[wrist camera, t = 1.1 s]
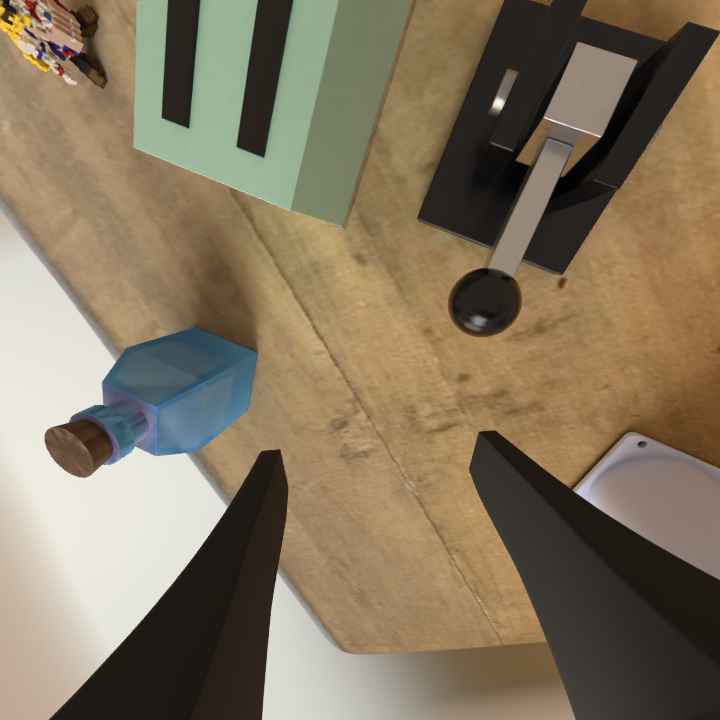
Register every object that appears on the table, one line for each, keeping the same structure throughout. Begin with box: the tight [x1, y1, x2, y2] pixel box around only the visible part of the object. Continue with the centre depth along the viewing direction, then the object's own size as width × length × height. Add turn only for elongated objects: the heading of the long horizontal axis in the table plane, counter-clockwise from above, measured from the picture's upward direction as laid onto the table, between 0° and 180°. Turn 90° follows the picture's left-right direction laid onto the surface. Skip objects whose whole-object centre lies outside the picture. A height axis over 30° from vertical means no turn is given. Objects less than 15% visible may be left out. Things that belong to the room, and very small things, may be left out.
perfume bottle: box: [45, 327, 258, 478], centre depth 21 cm, size 6×6×12 cm
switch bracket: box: [417, 0, 720, 275], centre depth 13 cm, size 10×9×7 cm
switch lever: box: [448, 42, 638, 337], centre depth 12 cm, size 11×3×3 cm, turn 161°
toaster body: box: [133, 0, 416, 229], centre depth 13 cm, size 8×14×8 cm, turn 159°
